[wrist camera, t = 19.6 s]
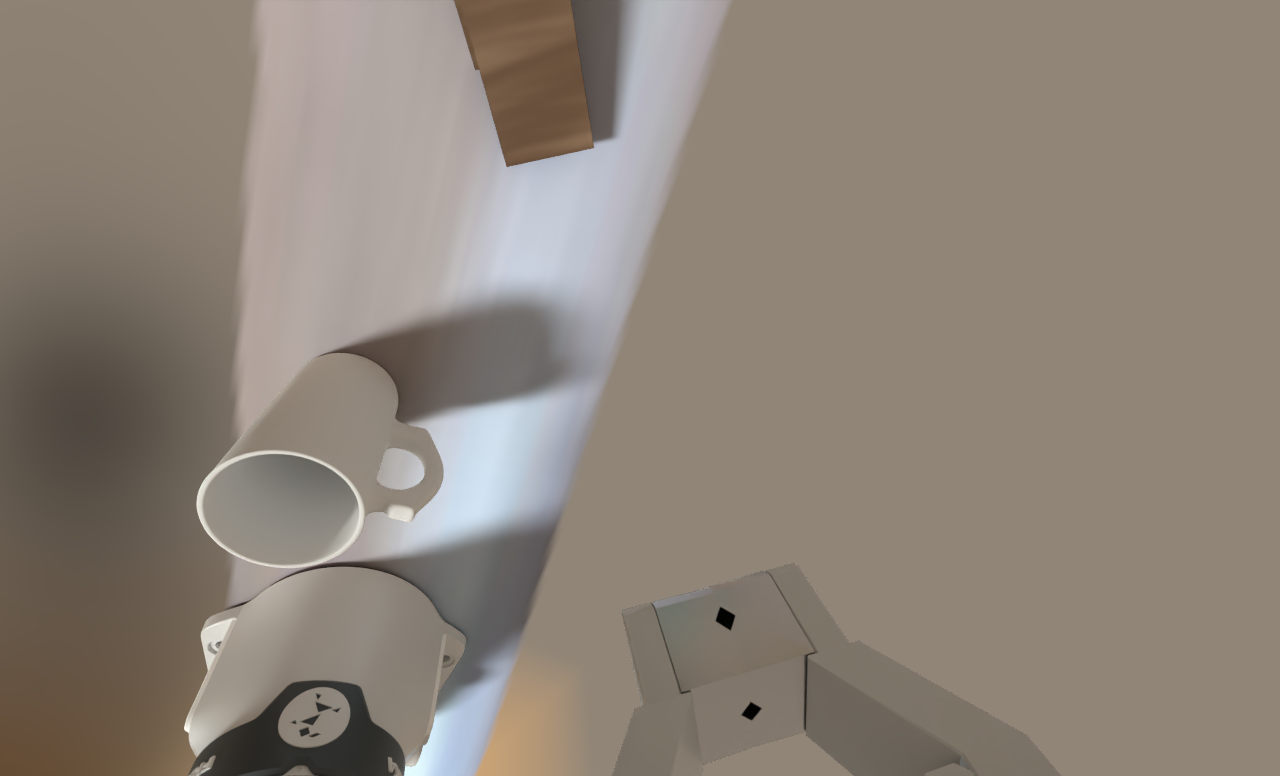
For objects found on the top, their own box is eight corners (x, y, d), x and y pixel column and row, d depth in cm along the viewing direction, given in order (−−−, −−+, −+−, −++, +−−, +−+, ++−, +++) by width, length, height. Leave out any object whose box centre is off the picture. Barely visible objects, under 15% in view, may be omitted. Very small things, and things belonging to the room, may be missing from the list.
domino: (593, 147, 31) (557, -82, 24) (506, 166, 31) (442, -63, 23) (588, 137, 32) (551, -86, 25) (503, 155, 32) (441, -67, 25)
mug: (280, 427, 36) (188, 557, 25) (297, 334, 34) (205, 434, 23) (439, 459, 39) (417, 585, 29) (465, 377, 37) (451, 481, 27)
